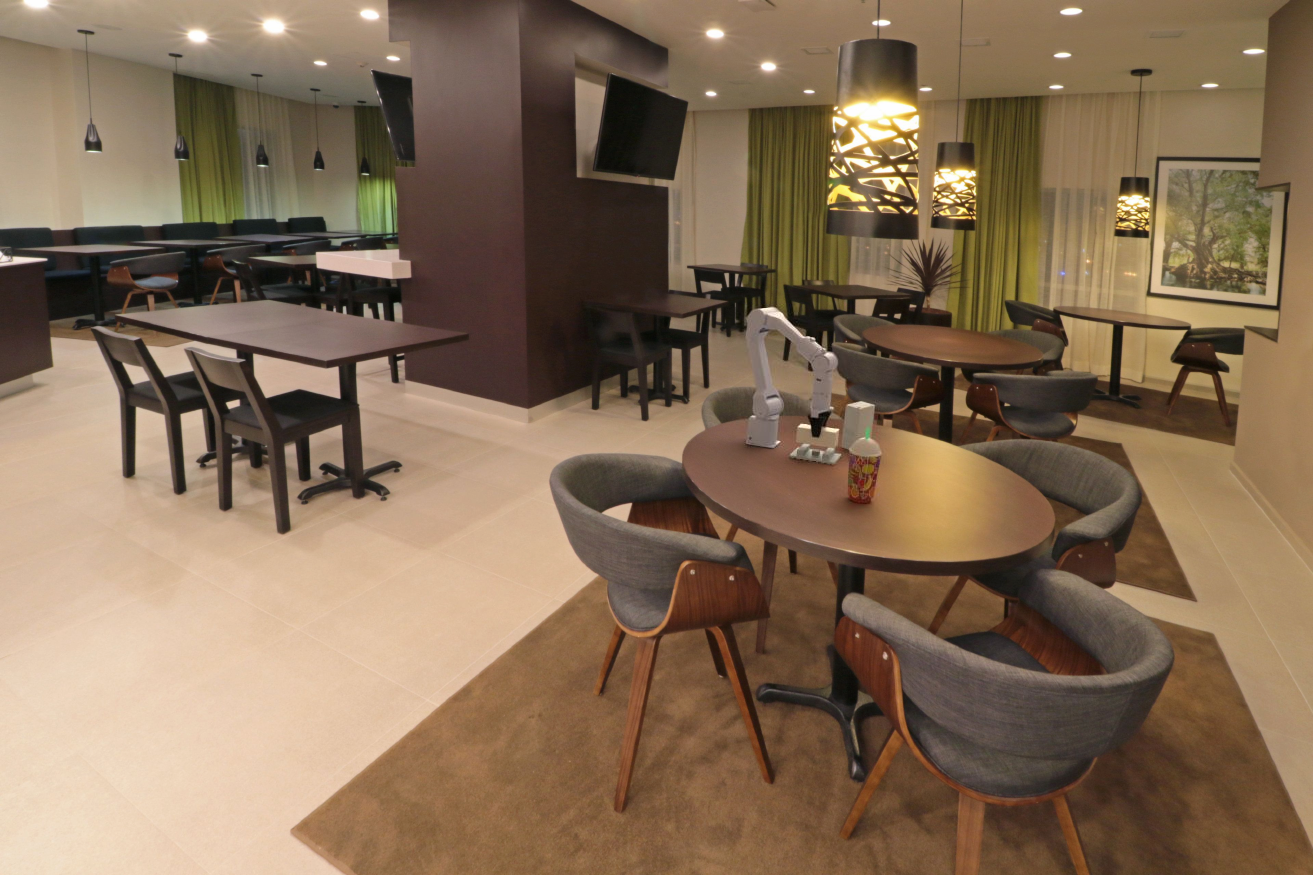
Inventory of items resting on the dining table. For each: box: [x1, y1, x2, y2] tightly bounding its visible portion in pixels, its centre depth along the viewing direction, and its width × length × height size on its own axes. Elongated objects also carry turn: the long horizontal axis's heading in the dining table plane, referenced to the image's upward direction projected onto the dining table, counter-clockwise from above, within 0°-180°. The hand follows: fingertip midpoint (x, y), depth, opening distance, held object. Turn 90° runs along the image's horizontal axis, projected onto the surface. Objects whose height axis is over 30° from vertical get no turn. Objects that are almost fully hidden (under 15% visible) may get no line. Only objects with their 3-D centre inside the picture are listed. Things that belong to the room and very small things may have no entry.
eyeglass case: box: [795, 423, 840, 449], centre depth 245 cm, size 12×4×5 cm, turn 65°
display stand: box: [788, 443, 842, 466], centre depth 247 cm, size 14×10×3 cm
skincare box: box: [840, 400, 876, 451], centre depth 256 cm, size 8×6×15 cm
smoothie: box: [846, 428, 883, 504], centre depth 209 cm, size 8×8×20 cm
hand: (817, 435), depth 245 cm, fingers closed on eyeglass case, 4 cm apart
